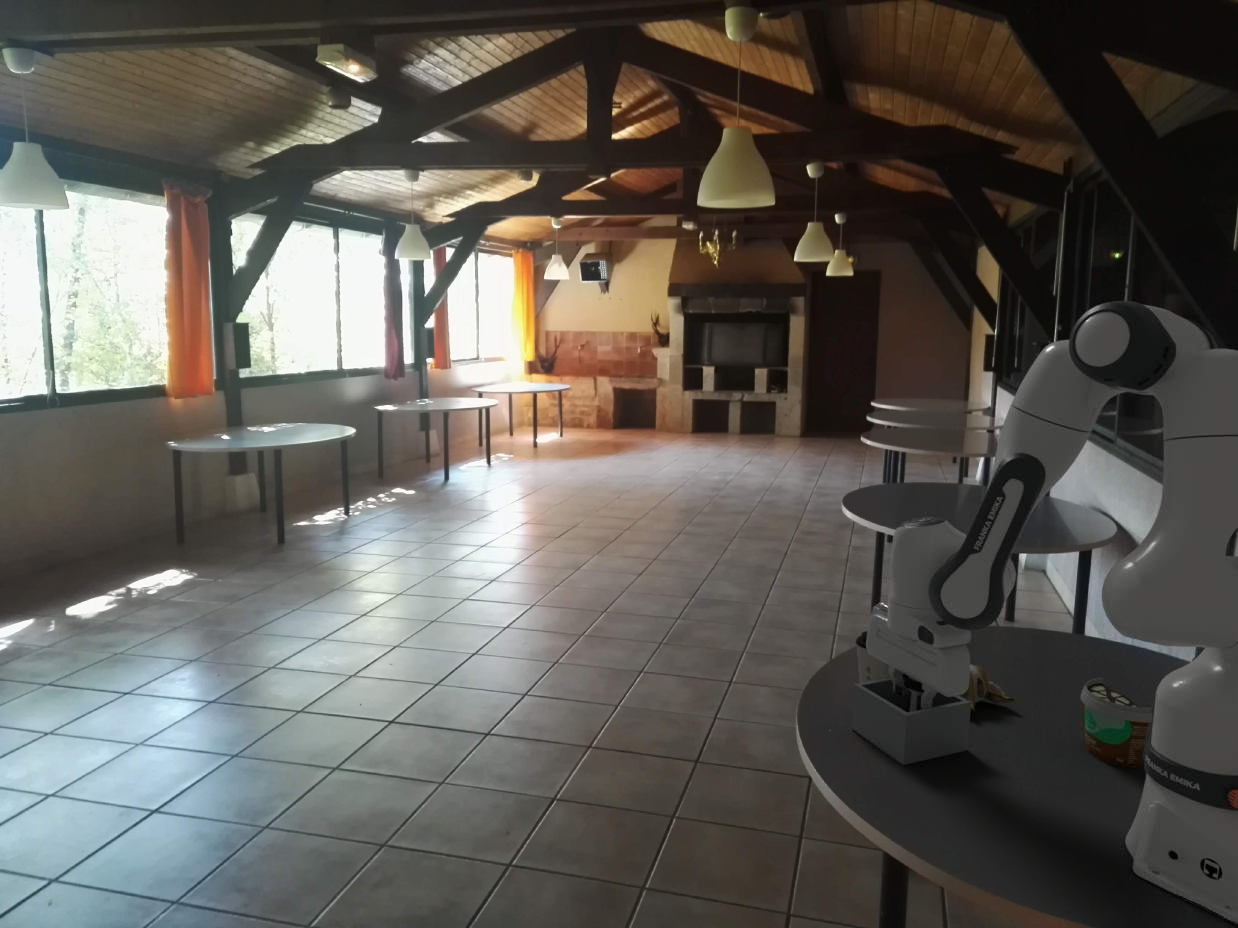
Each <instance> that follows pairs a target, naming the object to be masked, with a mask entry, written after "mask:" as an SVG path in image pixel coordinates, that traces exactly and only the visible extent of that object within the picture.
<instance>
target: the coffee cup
mask: <svg viewBox="0 0 1238 928" xmlns="http://www.w3.org/2000/svg"><path fill="white" fill-rule="evenodd" d="M867 632H868V630H866V631H863V632H861V634H860V635H859V636H858V637H857V638H856V640H855V644H856V649H857V650H856V651H857V652H856V653H857V654H856V655H857V662H858V667H857V668H858V675H859V677H858V679H859V683H863V682H868V681H874V680H879V679H885V678H889V675H890V673H889V665H888V664H886V663H884V662H882V661H881V660H879V659H877V658H875V657H873V656H871V655H870V654H869V653H868V651H867V648H866V640H867Z"/></svg>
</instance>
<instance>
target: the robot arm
mask: <svg viewBox="0 0 1238 928" xmlns="http://www.w3.org/2000/svg"><path fill="white" fill-rule="evenodd" d="M1069 336H1070V337H1069V339H1062V340H1057V341H1054V342H1051V343H1049V344H1048V345H1046V346H1045V347H1044V348H1043V349H1042V350H1041V351H1040V353H1039V354H1038V356H1036V358H1035V360H1034V361H1033V363H1032V364H1031V366H1030V368H1029V369H1028V371H1027V372H1026V374H1025V376H1024V377H1023V380H1022V382H1021V383H1020V384H1019V387H1018V389H1017V391H1016V393H1015V394H1014V397H1013V400H1012V402H1011V404H1010V406H1009V409H1008V410H1007V413H1006V416H1005V418H1004V422H1003V425H1002V429H1001V431H1000V434H999V439H998V442H997V443H998V444H997V449H996V451H995V457H994V462H993V465H992V469H991V473H990V478H989V481H988V485H987V489H986V492H985V494H984V496H983V499H982V500H981V503H980V505H979V508H978V510H977V512H976V514H975V516H974V518H973V521H972V523H971V525H970V527H969V529H968V531H967V534H966V533H963V532H961V531H960V530H958V529H957V528H955V527H954V526H953V525H952V524H951V523H950V522H949V521H948V520H947V519H945V518H942V517H937V516H921V517H915V518H910V519H907V520H906V521H904V522H902V523H900V524H899V525H898V527H896V529H895V531H894V533H893V538H892V544H891V551H890V558H889V559H890V561H889V576H890V579H891V585H890V590H889V592H888V599H887V603H885V602H882V601H881V602H879V603H877V604H875V605H874V606H873V608H872V611H871V613H872V614H871V617H870V619H869V623H868V627H867V631H868V632H867V640H866V648H867V651H868V653H869V654H870V655H871V656H873V657H875V658H877V659H879V660H881V661H882V662H884V663H886V664H888V665H889V675H890V677H891V679H892V682H893V692H894V693H896V694H898V695H900V696H902V695H906V694H907V688H906V687H905V686H904V679H903V678H902V675H903V673H904V674H906V675H908V676H910V677H912V678H913V679H915V680H917V681H919V682H921V683H922V689H923V690H925V691H924V693H923V695H922V696H917V706H918V707H920V708H922V709H927V708H931V707H932V698H934V696H935V695H936V693H937V692H939V693H941V694H943V695H944V696H946V697H953V696H958V695H962V694H964V693H965V692H966V691H967V689H968V687H969V678H970V662H971V655H970V651H969V649H968V647H967V646H966V644H969V643H970V642H971V640H972V639H971V638H972V632H971V631H977V630H982V629H984V628H986V627H987V628H988V627H989V626H990V625H992V624H993V623H994V622H996V621H997V619H998V618H999V617H1000V615H1001V612H1002V611H1003V607H1004V604H1005V602H1006V601H1007V599H1008V597H1009V596H1010V593H1011V592H1012V590H1013V588H1014V586H1015V584H1016V580H1017V569H1016V566H1015V563H1014V561H1013V559H1012V558H1011V556H1012V553H1013V551H1014V549H1015V548H1016V545H1017V543H1018V541H1019V539H1020V537H1021V534H1022V532H1023V530H1024V528H1025V526H1026V524H1027V522H1028V520H1029V518H1030V516H1031V514H1032V513H1033V511H1034V510H1035V508H1036V507H1037V505H1038V504H1039V503H1040V502H1041V500H1042V499H1043V498H1044V497H1045V496H1046V495H1047V494H1048V492H1050V491H1051V489H1052V488H1053V487H1054V486H1055V485H1056V484H1057V483H1058V482H1059V481H1060V480H1061V479H1062V478H1063V477H1064V476H1065V475H1066V473H1067V472H1068V471H1069V469H1070V468H1072V466H1073V464H1074V463H1075V461H1076V460H1077V458H1078V457H1079V455H1080V453H1081V452H1082V450H1083V449H1084V447H1085V445H1086V444H1087V442H1088V439H1089V438H1090V435H1091V433H1092V431H1093V429H1094V426H1095V425H1096V422H1097V420H1098V417H1099V415H1100V414H1101V412H1102V409H1103V408H1104V406H1105V405H1106V403H1108V401H1109V400H1110V399H1111V398H1113V397H1115V396H1117V395H1120V394H1122V393H1123V394H1124V393H1125V394H1127V395H1128V396H1131V397H1132V396H1133V397H1150V398H1156V399H1157V401H1158V402H1159V405H1160V407H1161V410H1162V411H1161V412H1162V418H1163V473H1162V474H1163V476H1162V491H1161V500H1160V504H1159V505H1160V506H1159V508H1158V509H1159V510H1158V513H1157V516H1156V518H1155V520H1154V522H1153V524H1152V527H1151V528H1150V530H1149V531H1148V533H1147V535H1146V536H1145V537H1144V538H1143V540H1142V541H1141V543H1139V545H1138V546H1137V547H1136V548H1135V549H1133V550H1132V551H1131V552H1130V553H1129V554H1128V555H1126V556H1125V557H1123V558H1121V559H1120V560H1119V561H1117V562H1116V563H1115V564H1114V565H1113V566H1111V568H1110V570H1109V571H1108V573H1107V574H1106V576H1105V578H1104V581H1103V582H1102V583H1103V584H1102V588H1101V603H1102V604H1101V605H1102V607H1103V611H1104V613H1105V616H1106V617H1107V619H1108V622H1109V623H1110V624H1111V626H1112V627H1113V628H1114V629H1115V630H1116V631H1117V632H1118V633H1119V634H1120V635H1121V636H1123V637H1125V638H1129V639H1133V640H1137V641H1141V642H1145V643H1151V644H1154V645H1155V644H1156V645H1159V646H1165V647H1184V648H1185V647H1186V648H1187V647H1189V648H1204V649H1203V650H1202V651H1201V652H1200V654H1199V655H1198V656H1197V657H1196V658H1195V659H1194V660H1192V661H1191V662H1190V663H1188V664H1186V665H1184V666H1182V667H1179V668H1177V669H1175V670H1173V671H1171V672H1169V673H1168V674H1167V675H1165V676H1164V677H1163V678H1162V679H1161V681H1160V682H1159V684H1158V686H1157V689H1156V691H1155V698H1154V699H1155V701H1154V709H1153V716H1152V729H1151V737H1149V738H1148V739H1147V742H1146V748H1145V754H1144V763H1143V768H1144V772H1145V780H1144V785H1143V791H1142V795H1141V798H1140V802H1139V806H1138V808H1137V811H1136V815H1135V817H1134V820H1133V822H1132V824H1131V826H1130V829H1129V831H1128V832H1127V834H1126V836H1125V846H1126V848H1127V851H1128V853H1130V855H1131V856H1132V859H1133V862H1132V870H1133V872H1134V873H1135V874H1136V875H1137V876H1138V877H1140V878H1142V879H1143V880H1146V881H1149V882H1150V883H1152V884H1154V885H1155V886H1158V887H1160V888H1162V889H1164V890H1166V891H1168V892H1171V893H1172V894H1173V895H1176V894H1177V895H1176V896H1178V895H1179V896H1178V897H1180V896H1182V897H1184V898H1187V899H1188V900H1190V901H1193V902H1196V903H1198V904H1201V905H1202V906H1205V907H1207V908H1208V909H1209V910H1212V911H1213V912H1216V913H1218V914H1219V915H1221V916H1223V917H1224V918H1227V919H1228V920H1230V921H1235V922H1237V923H1238V555H1235V556H1234V555H1226V553H1227V547H1228V544H1229V541H1230V538H1231V537H1232V536H1233V534H1234V532H1235V531H1236V530H1237V529H1238V350H1236V349H1229V348H1218V345H1217V342H1216V340H1215V338H1214V337H1213V335H1212V334H1211V333H1210V332H1209V331H1208V330H1207V329H1206V328H1205V327H1204V326H1202V325H1201V324H1200V323H1198V322H1197V321H1194V320H1192V319H1190V318H1189V319H1188V318H1184V317H1182V316H1179V315H1177V314H1175V313H1174V312H1172V311H1170V310H1167V309H1165V308H1163V307H1162V308H1161V307H1158V306H1153V305H1147V304H1142V303H1139V302H1136V301H1132V300H1130V301H1128V300H1115V301H1109V302H1103V303H1101V304H1099V305H1095V306H1093V307H1092V308H1090V309H1089V310H1087V311H1086V312H1085V313H1084V314H1082V315H1081V317H1079V319H1078V320H1077V321H1076V323H1075V325H1074V326H1073V328H1072V330H1071V332H1070V335H1069ZM1182 897H1181V898H1182ZM1184 898H1183V899H1184ZM1188 900H1187V901H1188ZM1190 901H1189V902H1190ZM1224 918H1223V919H1224ZM1228 920H1227V921H1228ZM1230 921H1229V922H1230Z"/></svg>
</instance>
